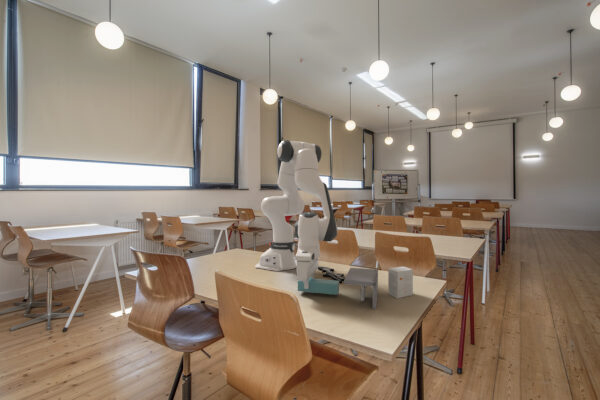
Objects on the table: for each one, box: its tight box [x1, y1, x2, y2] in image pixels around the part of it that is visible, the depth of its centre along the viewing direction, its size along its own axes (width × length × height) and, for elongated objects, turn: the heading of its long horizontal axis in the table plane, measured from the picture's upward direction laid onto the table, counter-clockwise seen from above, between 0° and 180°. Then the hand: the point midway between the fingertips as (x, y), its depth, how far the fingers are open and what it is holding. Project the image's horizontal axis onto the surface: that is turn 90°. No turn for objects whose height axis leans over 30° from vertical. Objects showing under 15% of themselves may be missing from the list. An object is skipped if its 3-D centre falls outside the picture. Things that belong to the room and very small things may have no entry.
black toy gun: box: [317, 265, 346, 285], centre depth 148 cm, size 28×2×10 cm
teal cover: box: [297, 278, 340, 296], centre depth 120 cm, size 16×5×4 cm, turn 73°
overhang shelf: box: [343, 267, 379, 310], centre depth 115 cm, size 11×18×10 cm, turn 163°
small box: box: [387, 265, 414, 299], centre depth 119 cm, size 8×6×10 cm
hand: (308, 285), depth 121 cm, fingers closed on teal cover, 5 cm apart
